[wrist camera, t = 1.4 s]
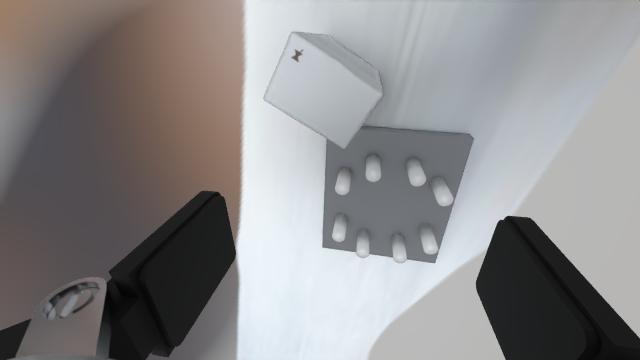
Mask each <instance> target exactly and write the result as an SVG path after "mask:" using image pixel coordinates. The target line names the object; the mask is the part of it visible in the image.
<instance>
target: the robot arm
mask: <svg viewBox="0 0 640 360" xmlns="http://www.w3.org/2000/svg"><path fill="white" fill-rule="evenodd" d="M235 255H236V250H235V245H234V241H233V236H232V231H231V227H230V222H229V217H228V212H227V207H226V203H225V199H224V197H223V196H221V195H220V193H219V192H213V191H201V192H200V193H199V194H197V195H196V196H195V197H194V198H193V199H192V200H190V201H189V202H188V203H187V204H186V205H185V206H184V207H183V208H181V209H180V210H179V211H178V212H177V213H176V214H174V216H172V217H171V218H170V219H169V220H167V221H166V222H165V223H164V224H163V225H162V226H161V227H159V228H158V229H157V230H156V231H155V232H154V233H153V234H151V235H150V236H149V237H148V238H147V239H146V240H144V241H143V242H142V243H141V244H140V245H139V246H138V247H136V248H135V249H134V250H133V251H132V252H131V253H129V254H128V255H127V256H126V257H125V258H124V259H123V260H121V261H120V262H119V263H118V264H117V265H116V266H115V267H113V268H112V269H111V270H110V271H109V273H110V275H111V277H112V278H111V280H109V281H108V282H107V283H106V282H105V280H103V279H102V278H98V277H88V278H84V279H80V280H77V281H74V282H72V283H69V284H67V285H65V286H63V287H61V288H60V289H58V290H56V291H55V292H53V293H52V294H50V295H49V296H48V297H47V298H46V299H44V301H43V302H41V303H40V304H39V306H38V307H37V309H36V311H35V312H34V314H33V316H32V318H31V319H29V320H26V321H24V322H21V323H19V324H16V325H14V326H11V327H9V328H6V329H3V330H1V331H0V360H146V358H147V357H148V355H149V354H150V353H152V354H153V355H158V356H163V357H169V355H170V354H171V352H172V351H173V349H174V347H177V346H179V345H180V344H181V343H182V341H183V340H184V339H185V337H186V335H187V334H188V332H189V331H190V329H191V327H192V326H193V324H194V323H195V321H196V320H197V318H198V316H199V315H200V313H201V312H202V310H203V309H204V307H205V305H206V304H207V302H208V300H209V299H210V298H211V296H212V294H213V293H214V291H215V289H216V288H217V286H218V285H219V283H220V282H221V280H222V278H223V277H224V275H225V274H226V272H227V271H228V269H229V268H230V266H231V264H232V263H233V261H234V259H235ZM476 289H477V292H478V295H479V297H480V300H481V302H482V304H483V307H484V309H485V312H486V314H487V316H488V319H489V321H490V323H491V326H492V328H493V331H494V333H495V335H496V338H497V340H498V342H499V345H500V347H501V350H502V352H503V354H504V357H505V359H506V360H640V338H639V337H638V336H637V335H636V334H635V333H634V332H633V330H631V328H630V327H629V326H628V325H627V324H626V323H625V322H624V320H623V319H622V318H621V317H620V316H619V315H618V314H617V313H616V312H615V311H614V309H613V308H612V307H611V306H610V305H609V304H608V303H607V302H606V301H605V300H604V298H603V297H602V296H601V295H600V294H599V293H598V292H597V291H596V290H595V289H594V287H593V286H592V285H591V284H590V283H589V282H588V281H587V280H586V279H585V277H584V276H583V275H582V274H581V273H580V272H579V271H578V270H577V269H576V268H575V266H574V265H573V264H572V263H571V262H570V261H569V260H568V259H567V257H565V255H564V254H563V253H562V252H561V251H560V250H559V249H558V247H556V245H555V244H554V243H553V242H552V241H551V240H550V239H549V238H548V236H547V235H546V234H545V233H544V232H543V231H542V230H541V229H540V228H539V226H537V224H536V223H535V222H534V221H533V220H532V219H531V218H528V217H516V216H507V217H505V218H504V220H500V221H499V222H498V223H497V226H496V228H495V231H494V234H493V237H492V239H491V242H490V245H489V247H488V250H487V253H486V256H485V258H484V261H483V264H482V266H481V269H480V272H479V275H478V277H477V280H476Z"/></svg>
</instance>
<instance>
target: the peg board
mask: <svg viewBox="0 0 640 360" xmlns="http://www.w3.org/2000/svg"><path fill="white" fill-rule="evenodd" d="M473 140H474V138H473V137H472V136H471V135H470V134H458V133H445V132H431V131H418V130H404V129H391V128H377V127H363V126H361V128H360V129H359V130H358V132H357V133H356V134H355V136H354V137H353V139H352V140H351V141H350V143H349V144H348V145H347V147H346V148H345V149H343V148H341V147H340V146H338V145H337V144H335V143H333V142H332V141H330V140H328V139H327V144H326V169H325V194H324V220H323V245H322V247H323V248H330V249H337V250H344V251H351V252H356V253H357V255H358V256H359V257H361V258H366V257H368V256H369V254H373V255H380V256H387V257H393V259H394V261H395V262H397V263H404V262H405V261H406V260H407V259H408V260H415V261H422V262H429V263H435V262H436V258H437V255H438V252H439V249H440V246H441V242H442V239H443V236H444V233H445V230H446V226H447V223H448V220H449V217H450V213H451V210H452V207H453V204H454V201H455V197H456V194H457V191H458V188H459V185H460V181H461V178H462V175H463V172H464V168H465V165H466V162H467V159H468V156H469V152H470V149H471V146H472V143H473Z"/></svg>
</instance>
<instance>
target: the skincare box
mask: <svg viewBox="0 0 640 360" xmlns="http://www.w3.org/2000/svg"><path fill="white" fill-rule="evenodd" d="M383 95H384V93H383V89H382V85H381V81H380V77H379V72H378V70H377V69H376V68H374V67H373V66H371V65H370V64H369V63H367V62H366V61H364V60H363V59H361V58H360V57H358V56H357V55H355V54H354V53H353V52H351V51H350V50H348V49H347V48H345V47H344V46H342V45H341V44H339V43H338V42H336V41H335V40H333V39H332V38H330V37H329V36H327V35H323V34H312V33H304V32H291V34H290V36H289V39H288V41H287V44H286V46H285V48H284V51H283V53H282V55H281V58H280V60H279V63H278V65H277V67H276V70H275V72H274V74H273V77H272V79H271V81H270V84H269V86H268V88H267V90H266V93H265V95H264V100H265V101H267V102H268V103H270V104H271V105H273V106H274V107H276V108H278V109H279V110H281V111H283V112H284V113H286V114H287V115H289V116H291V117H292V118H294V119H295V120H297V121H299V122H300V123H302V124H304V125H305V126H307V127H309V128H310V129H312V130H314V131H315V132H317V133H319V134H320V135H322V136H324V137H325V138H327V139H328V140H330V141H332V142H333V143H335V144H337V145H338V146H340V147H341V148H343V149H345V148H346V147H347V145H348V144H349V143H350V141H351V140H352V139H353V137H354V136H355V134H356V133H357V132H358V130H359V129H360V128H361V126H362V125H363V124H364V122H365V121H366V119H367V118H368V117H369V115H370V114H371V112H372V111H373V110H374V108H375V107H376V105H377V104H378V103H379V101H380V100H381V98H382V97H383Z"/></svg>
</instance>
